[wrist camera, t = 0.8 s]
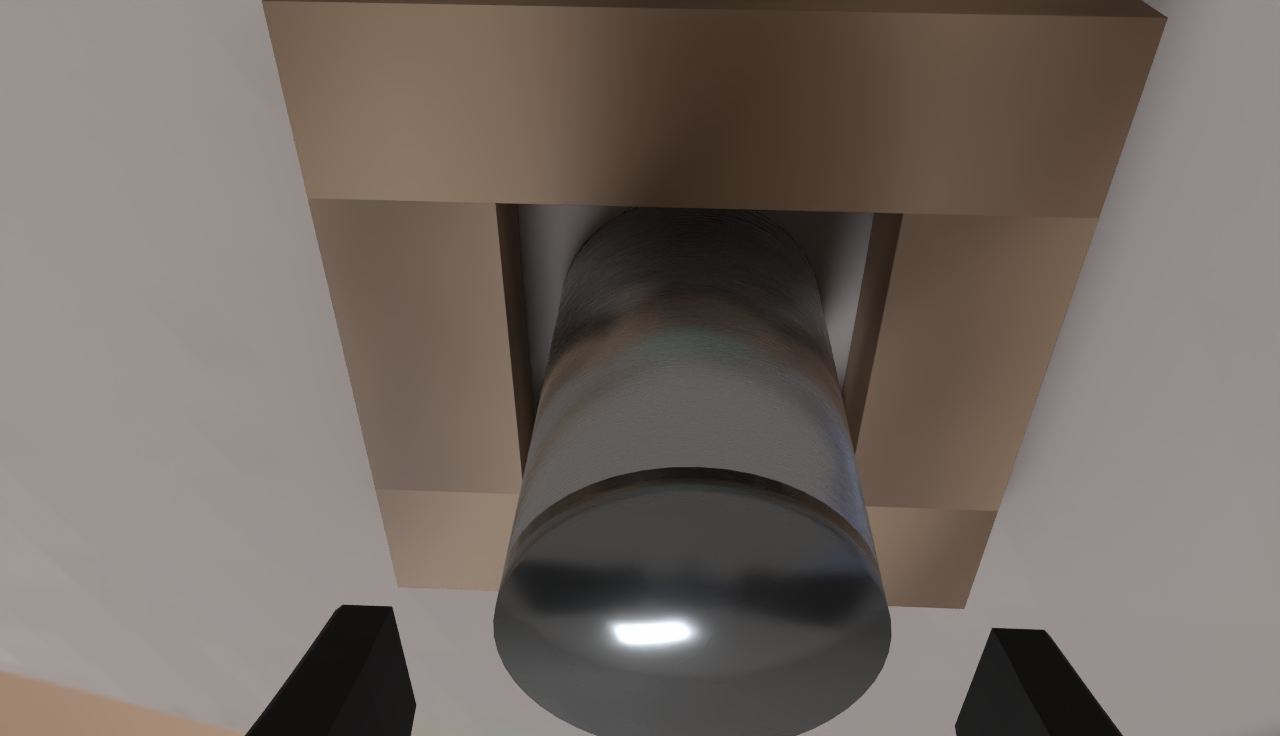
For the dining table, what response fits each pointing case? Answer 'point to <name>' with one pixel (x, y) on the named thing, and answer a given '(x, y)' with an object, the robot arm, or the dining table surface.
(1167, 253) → the dining table surface
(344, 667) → the robot arm
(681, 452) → the metal cylinder
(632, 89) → the collar
